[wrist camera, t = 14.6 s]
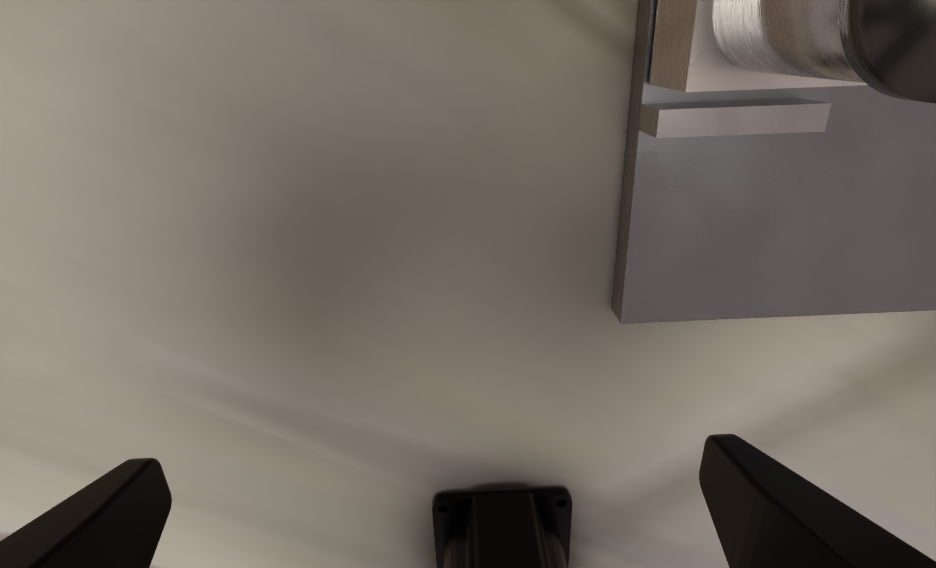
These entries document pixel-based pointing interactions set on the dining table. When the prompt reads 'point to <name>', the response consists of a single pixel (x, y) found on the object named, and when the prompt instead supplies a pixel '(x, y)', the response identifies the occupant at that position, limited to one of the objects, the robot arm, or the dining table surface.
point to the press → (773, 201)
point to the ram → (796, 45)
